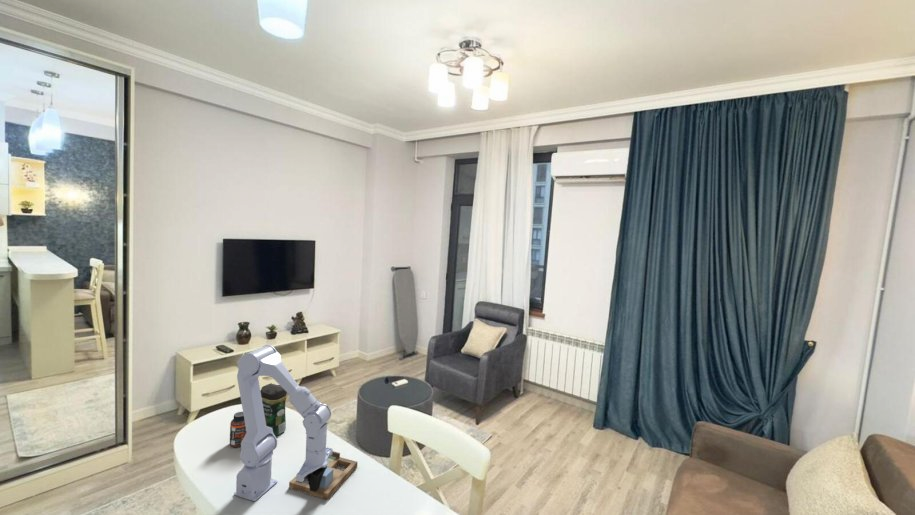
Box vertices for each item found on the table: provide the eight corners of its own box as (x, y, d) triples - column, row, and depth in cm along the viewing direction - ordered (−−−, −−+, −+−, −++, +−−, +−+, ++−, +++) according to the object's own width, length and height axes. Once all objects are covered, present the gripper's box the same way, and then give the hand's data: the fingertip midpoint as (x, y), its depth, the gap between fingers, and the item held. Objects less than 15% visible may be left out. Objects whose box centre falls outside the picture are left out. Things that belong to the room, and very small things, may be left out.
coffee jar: (254, 432, 149) (255, 386, 147) (271, 423, 156) (273, 379, 155) (272, 439, 145) (274, 392, 144) (289, 430, 152) (290, 385, 151)
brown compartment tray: (327, 499, 116) (328, 488, 116) (288, 488, 120) (289, 477, 120) (357, 467, 132) (357, 457, 132) (322, 457, 136) (322, 448, 136)
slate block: (325, 488, 118) (325, 476, 118) (314, 485, 119) (314, 473, 119) (332, 480, 122) (333, 468, 121) (322, 477, 123) (322, 465, 122)
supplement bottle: (233, 450, 137) (234, 419, 136) (226, 443, 141) (227, 414, 140) (251, 443, 142) (251, 414, 141) (243, 437, 146) (244, 408, 145)
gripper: (311, 463, 107) (309, 509, 108) (341, 437, 121) (339, 478, 122) (290, 457, 109) (289, 502, 110) (322, 432, 123) (320, 472, 124)
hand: (314, 489), depth 116 cm, fingers closed
